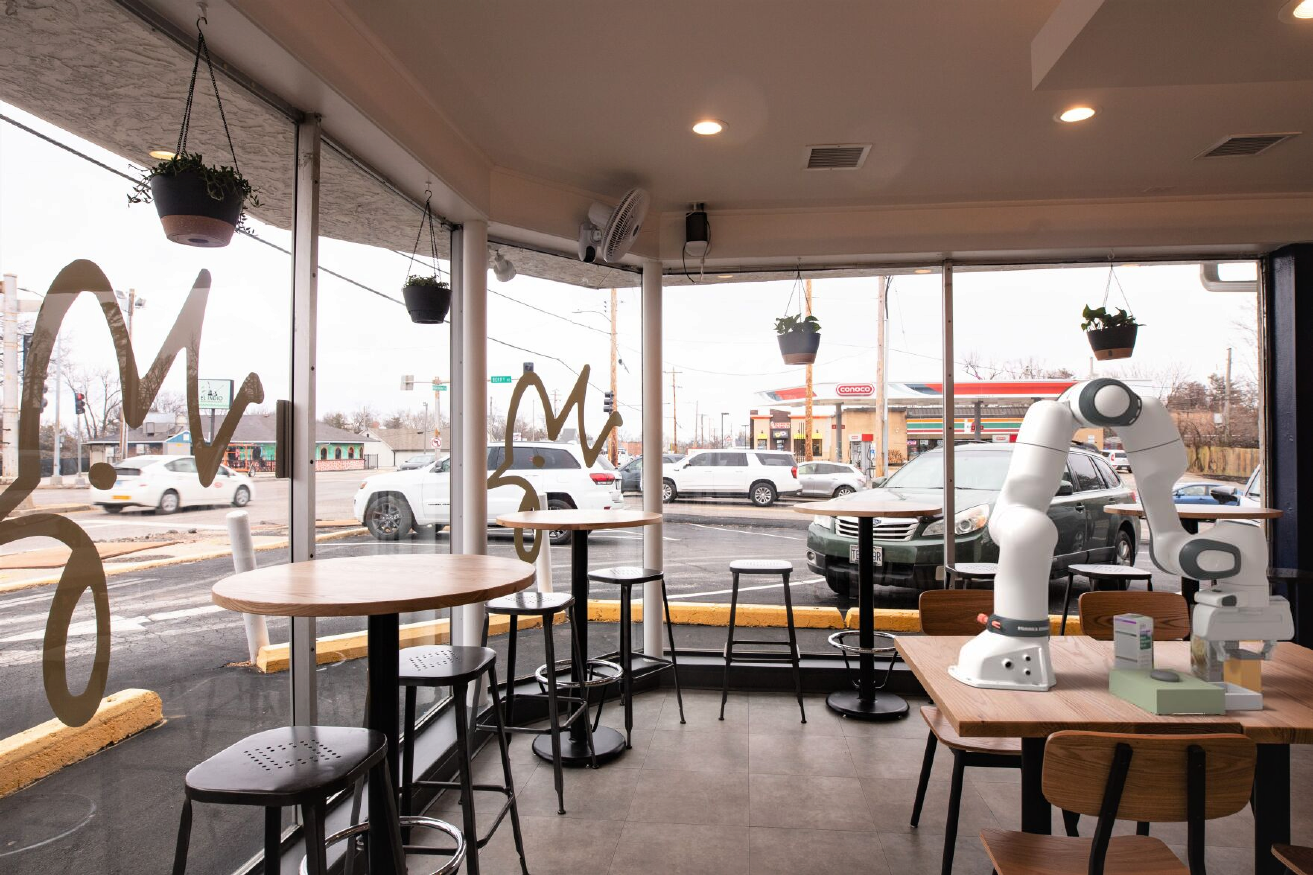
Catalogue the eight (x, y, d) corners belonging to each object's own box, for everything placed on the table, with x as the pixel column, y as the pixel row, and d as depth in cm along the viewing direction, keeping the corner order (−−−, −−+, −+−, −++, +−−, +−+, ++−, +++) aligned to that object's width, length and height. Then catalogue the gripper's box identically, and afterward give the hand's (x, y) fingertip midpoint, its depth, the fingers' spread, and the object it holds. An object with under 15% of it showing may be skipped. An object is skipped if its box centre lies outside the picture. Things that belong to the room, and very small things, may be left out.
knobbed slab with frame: (1156, 715, 145) (1156, 684, 145) (1109, 692, 159) (1109, 664, 159) (1274, 714, 147) (1274, 683, 147) (1217, 691, 161) (1217, 664, 161)
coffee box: (1188, 671, 176) (1188, 603, 177) (1219, 673, 175) (1218, 605, 175) (1209, 683, 167) (1208, 611, 168) (1241, 685, 166) (1241, 613, 166)
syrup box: (1140, 684, 165) (1139, 619, 165) (1113, 677, 170) (1113, 614, 171) (1154, 681, 168) (1154, 617, 168) (1128, 674, 173) (1127, 612, 173)
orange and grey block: (1240, 697, 157) (1240, 654, 158) (1223, 690, 162) (1223, 648, 162) (1261, 696, 158) (1261, 654, 158) (1243, 690, 162) (1243, 648, 162)
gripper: (1275, 592, 164) (1277, 655, 164) (1186, 593, 163) (1188, 657, 163) (1301, 598, 158) (1303, 663, 157) (1209, 599, 157) (1211, 665, 156)
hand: (1244, 660), depth 160 cm, fingers open, 8 cm apart
